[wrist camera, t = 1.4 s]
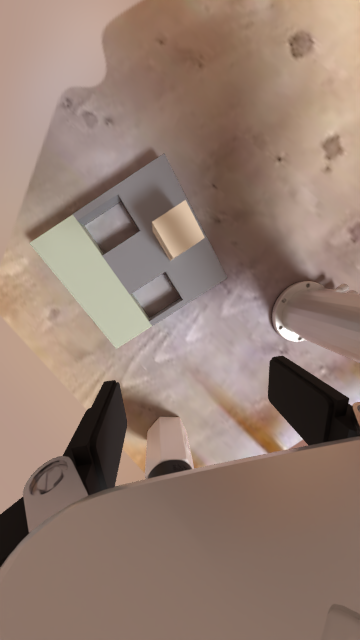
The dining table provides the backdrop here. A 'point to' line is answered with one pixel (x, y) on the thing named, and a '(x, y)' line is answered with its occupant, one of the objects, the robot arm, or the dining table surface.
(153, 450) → the jar
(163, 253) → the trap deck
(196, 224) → the birch block
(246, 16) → the dining table surface
